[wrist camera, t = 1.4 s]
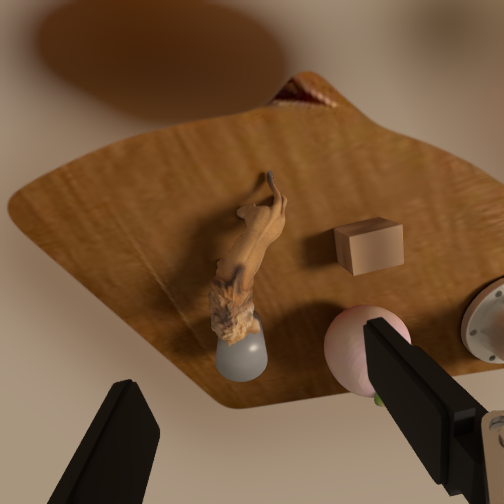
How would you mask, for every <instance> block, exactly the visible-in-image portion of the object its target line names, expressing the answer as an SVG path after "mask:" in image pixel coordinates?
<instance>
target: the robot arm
mask: <svg viewBox="0 0 504 504" xmlns="http://www.w3.org/2000/svg"><path fill="white" fill-rule="evenodd" d="M363 333H364V343H365V353H366V363H367V373H368V378H369V381H370V383H371V385H372V387H373V388H374V390H375V391H376V393H377V394H378V396H379V397H380V399H381V401H382V402H383V404H384V405H385V407H386V408H387V410H388V411H389V413H390V414H391V416H392V418H393V419H394V421H395V422H396V424H397V425H398V426H399V428H400V430H401V431H402V433H403V434H404V436H405V438H406V439H407V440H408V442H409V444H410V445H411V447H412V448H413V450H414V451H415V453H416V454H417V456H418V457H419V459H420V461H421V462H422V463H423V465H424V466H425V468H426V470H427V471H428V473H429V474H430V476H431V477H432V479H433V480H434V481H435V483H436V484H438V485H439V484H442V485H443V486H444V488H445V489H446V491H447V492H448V494H449V495H450V496H454V495H458V494H463V495H464V497H465V498H466V500H467V501H468V502H469V504H504V411H491V412H488V411H487V410H486V409H485V408H484V407H483V406H482V405H480V403H479V402H477V401H476V400H475V399H474V398H473V397H472V396H471V395H470V394H469V393H468V392H467V391H466V390H465V389H464V388H463V387H462V386H460V385H459V384H458V383H457V382H456V381H455V380H454V379H453V378H452V377H451V376H450V375H449V374H448V373H447V372H446V371H445V370H444V369H442V368H441V367H440V366H439V365H438V364H437V363H436V362H435V361H434V360H433V359H432V358H431V357H430V356H429V355H428V354H427V353H425V352H424V351H423V350H422V349H421V348H420V347H418V346H412V345H411V344H410V343H409V342H408V341H407V340H406V339H405V338H404V337H403V336H402V335H401V334H400V333H399V332H398V331H397V330H396V329H394V328H393V327H392V326H391V325H390V324H389V323H388V322H387V321H386V320H385V319H384V318H383V317H378V318H374V319H370V320H367V322H366V325H363ZM461 338H462V341H463V344H464V346H465V347H466V348H467V350H468V351H469V352H471V353H472V354H473V355H474V356H476V357H477V358H479V359H481V360H482V361H485V362H488V363H498V364H499V363H504V278H502V279H499V280H498V281H496V282H494V283H492V284H491V285H489V286H488V287H487V288H485V289H484V290H483V291H481V292H480V293H479V295H478V296H477V297H476V298H475V299H474V300H473V301H472V303H471V304H470V305H469V307H468V308H467V310H466V312H465V314H464V317H463V320H462V323H461ZM159 438H160V428H159V426H158V424H157V422H156V420H155V418H154V416H153V414H152V412H151V410H150V408H149V406H148V404H147V402H146V400H145V398H144V396H143V394H142V392H141V390H140V388H139V386H138V384H137V383H136V382H133V381H132V380H131V379H128V380H124V381H120V382H116V383H114V384H113V385H112V387H111V389H110V391H109V392H108V394H107V396H106V398H105V400H104V401H103V403H102V405H101V407H100V409H99V410H98V412H97V414H96V416H95V418H94V419H93V421H92V423H91V425H90V427H89V428H88V430H87V432H86V434H85V436H84V437H83V439H82V441H81V443H80V445H79V447H78V448H77V450H76V452H75V454H74V456H73V457H72V459H71V461H70V463H69V465H68V466H67V468H66V470H65V472H64V474H63V475H62V477H61V479H60V481H59V483H58V484H57V486H56V488H55V490H54V492H53V493H52V495H51V497H50V499H49V501H48V503H47V504H142V502H143V498H144V494H145V490H146V486H147V483H148V480H149V476H150V472H151V468H152V464H153V461H154V457H155V453H156V449H157V446H158V442H159Z"/></svg>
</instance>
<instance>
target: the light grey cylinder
mask: <svg viewBox="0 0 504 504" xmlns="http://www.w3.org/2000/svg"><path fill="white" fill-rule="evenodd" d="M253 317H254V318H256V319H257V320H258V321H259V326H260V331H259V332H258V333H257V334H251V333H248V334H247V335H246V336H245V337H244V339H241V340H240V341H237V342H236V343H235V344H232V345H231V346H228V345H227V344H226V342H225V341H224V340H222V339H221V338H220V337H218V343H217V353H216V367H217V369H218V371H219V372H220V374H221V375H222V376H224V377H225V378H227V379H229V380H232V381H237V382H245V381H249V380H252V379H254V378H256V377H258V376H259V375H260V374H261V373H262V372H263V371H264V370H265V368H266V366H267V361H268V360H267V352H266V346H265V341H264V335H263V329H262V323H261V319H260V316H259V315H258V313H257V312H256V311H253Z"/></svg>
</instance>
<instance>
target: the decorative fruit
mask: <svg viewBox="0 0 504 504" xmlns="http://www.w3.org/2000/svg"><path fill="white" fill-rule="evenodd" d="M378 317H383V318H384V319H385V320H386V321H387V322H388V323H389V324H390V325H391V326H392V327H393V328H394V329H396V330H397V331H398V332H399V333H400V334H401V335H402V336H403V337H404V338H405V339H406V340H407V341H408V342H409V343H410V344H411V339H410V335H409V332H408V330H407V328H406V326H405V325H404V323H403V322H402V321H401V320H400V319H399V318H398V317H397V316H396V315H395V314H393V313H392V312H390V311H388V310H386V309H383V308H381V307H377V306H372V305H358V306H354V307H351V308H348V309H346V310H344V311H343V312H341V313H340V314H339V315H338V316H336V318H335V319H334V320H333V321H332V323H331V324H330V326H329V328H328V330H327V332H326V335H325V339H324V353H325V358H326V361H327V364H328V367H329V368H330V370H331V372H332V374H333V375H334V377H335V378H336V379H337V380H338V382H339V383H340V384H341V385H342V386H343V387H345V388H346V389H347V390H349V391H350V392H352V393H354V394H357V395H360V396H364V397H373V398H374V401H375V404H376V405H378V406H381V407H382V406H385V405H384V404H383V402H382V401H381V399H380V397H379V396H378V394H377V393H376V391H375V390H374V388H373V387H372V385H371V383H370V381H369V378H368V373H367V363H366V353H365V343H364V333H363V325H366V322H367V320H370V319H374V318H378Z"/></svg>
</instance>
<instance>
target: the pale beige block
mask: <svg viewBox="0 0 504 504" xmlns="http://www.w3.org/2000/svg"><path fill="white" fill-rule="evenodd" d="M333 229H334V236H335V244H336V252H337V259H338V263H340V264H341V265H342V266H343V267H344V268H345V269H346V270H347V271H349V272H350V273H351V274H352V275H353V276H355V275H359V274H364V273H368V272H372V271H376V270H380V269H384V268H388V267H393V266H397V265H401V264H404V256H403V230H402V224H399V223H396V222H393V221H390V220H387V219H384V218H380V217H377V218H373V219H369V220H365V221H361V222H357V223H353V224H348V225H344V226H340V227H336V228H333Z"/></svg>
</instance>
